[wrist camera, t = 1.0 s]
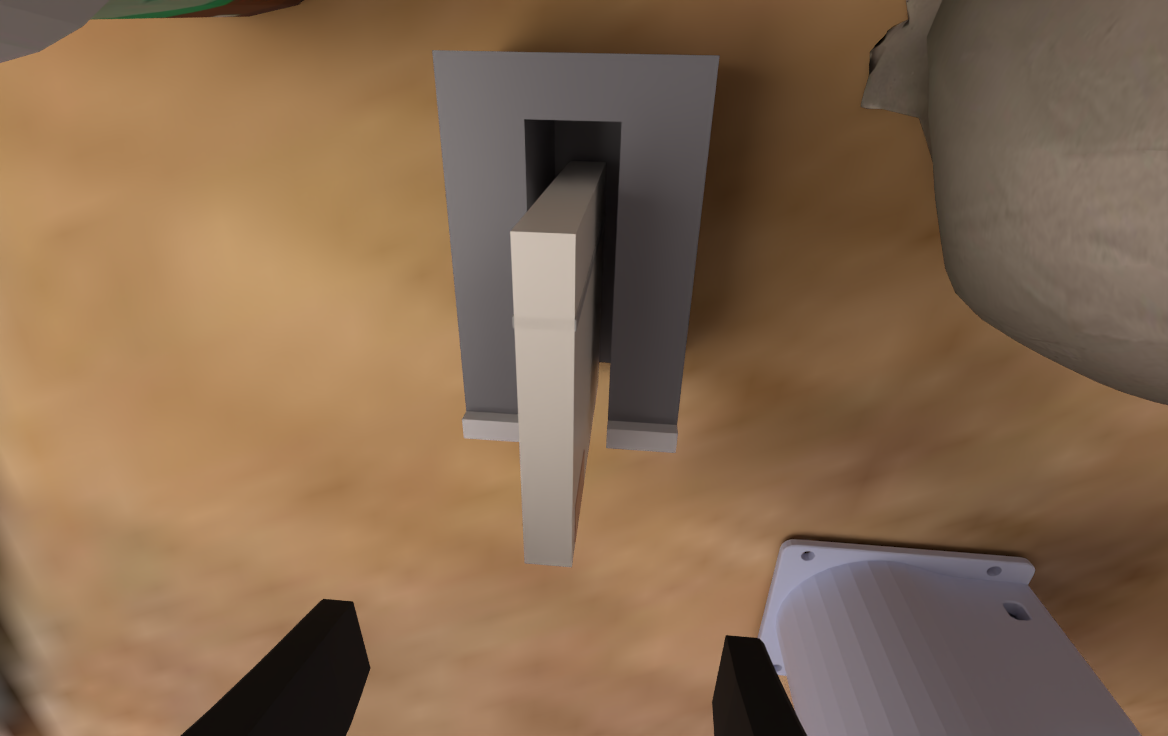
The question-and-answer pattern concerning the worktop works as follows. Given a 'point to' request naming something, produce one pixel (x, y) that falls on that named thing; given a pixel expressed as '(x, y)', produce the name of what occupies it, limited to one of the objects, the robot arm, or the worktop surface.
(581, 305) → the beige flat plate
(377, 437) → the worktop surface
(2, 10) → the food container
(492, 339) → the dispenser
